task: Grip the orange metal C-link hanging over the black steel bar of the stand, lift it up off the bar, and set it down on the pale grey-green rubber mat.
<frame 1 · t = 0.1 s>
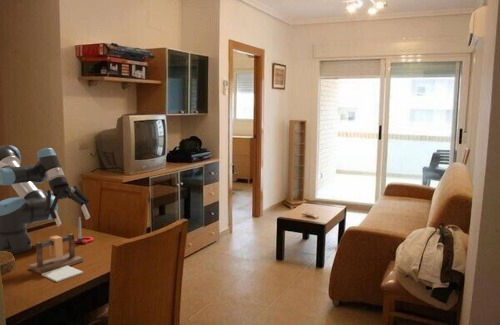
hand: (74, 221, 189), 15 cm above the table, tool tilted 35°, fingers open, 13 cm apart
c-link: (56, 255, 179), point 4 cm above the table, touching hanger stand
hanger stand: (56, 264, 180), on the table
rubber mat: (62, 274, 170), on the table
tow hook: (84, 241, 211), on the table
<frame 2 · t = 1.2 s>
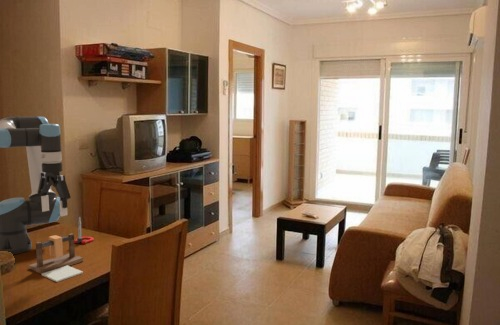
hand: (54, 213, 177), 22 cm above the table, tool pointing down, fingers open, 13 cm apart
nothing on the table moved.
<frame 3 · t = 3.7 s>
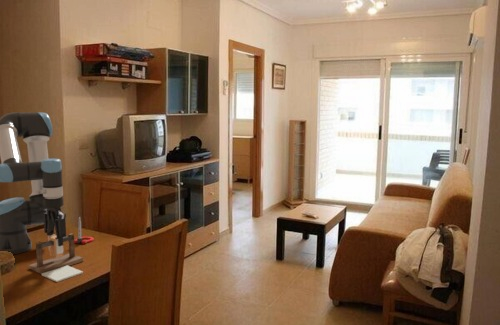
hand: (56, 251, 179), 6 cm above the table, tool pointing down, fingers closed on c-link, 5 cm apart
c-link: (56, 255, 179), point 4 cm above the table, touching gripper, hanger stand
everything else where it was.
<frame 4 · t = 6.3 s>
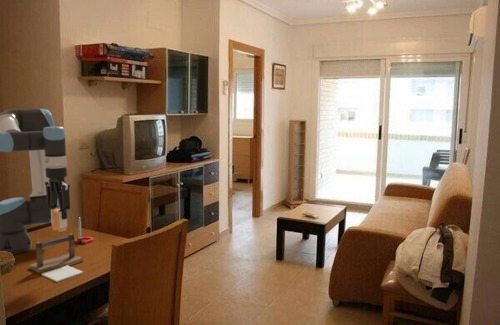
hand: (59, 225, 168), 19 cm above the table, tool pointing down, fingers closed on c-link, 5 cm apart
c-link: (59, 230, 169), point 18 cm above the table, touching gripper
everything else where it was.
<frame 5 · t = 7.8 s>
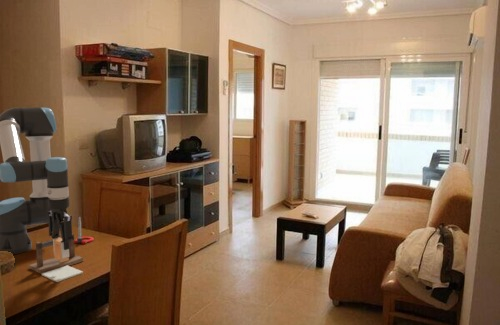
hand: (61, 255, 169), 8 cm above the table, tool pointing down, fingers closed on c-link, 5 cm apart
c-link: (61, 259, 169), point 6 cm above the table, touching gripper
everything else where it was.
when the fingers open (4 cm above the table, at t = 9.1 s): c-link drops 2 cm, resting on rubber mat.
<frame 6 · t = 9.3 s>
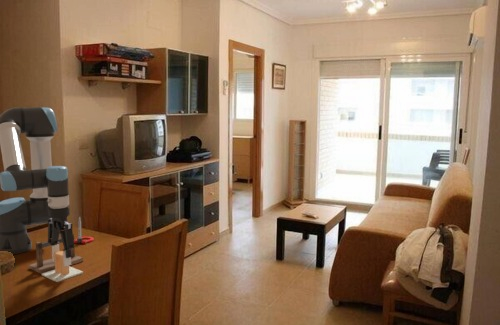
hand: (61, 262, 170), 5 cm above the table, tool pointing down, fingers open, 7 cm apart
c-link: (62, 272, 170), point 1 cm above the table, touching rubber mat
everything else where it was.
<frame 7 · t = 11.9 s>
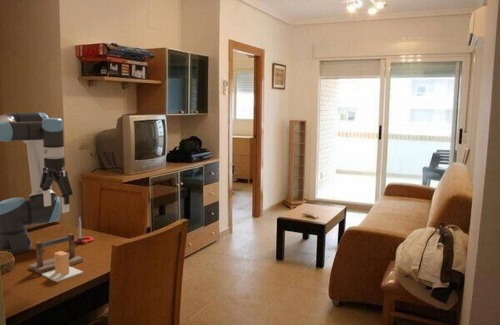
hand: (56, 209, 175), 24 cm above the table, tool pointing down, fingers open, 13 cm apart
nothing on the table moved.
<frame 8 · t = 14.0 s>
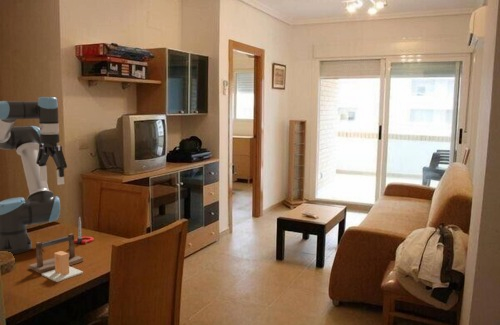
hand: (52, 182, 187), 33 cm above the table, tool pointing down, fingers open, 13 cm apart
nothing on the table moved.
at the end: c-link inside the target area on the rubber mat (0.0 cm from its centre), point 0.6 cm above the rubber mat's base; the gripper is holding nothing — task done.
